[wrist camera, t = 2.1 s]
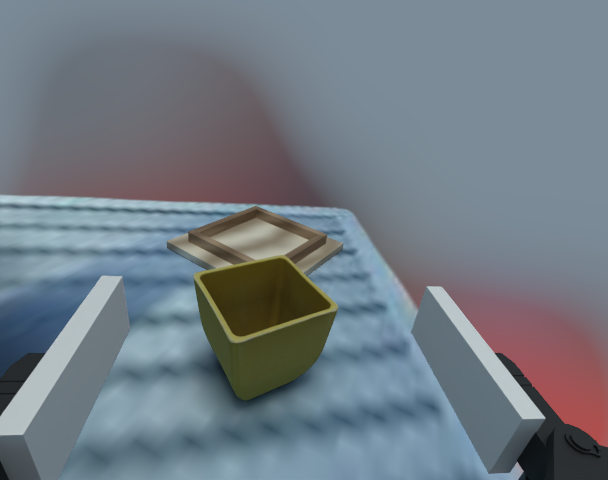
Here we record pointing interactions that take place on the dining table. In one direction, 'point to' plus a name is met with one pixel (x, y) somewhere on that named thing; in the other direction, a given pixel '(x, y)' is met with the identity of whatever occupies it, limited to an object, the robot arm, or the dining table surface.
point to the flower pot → (263, 322)
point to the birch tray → (255, 241)
